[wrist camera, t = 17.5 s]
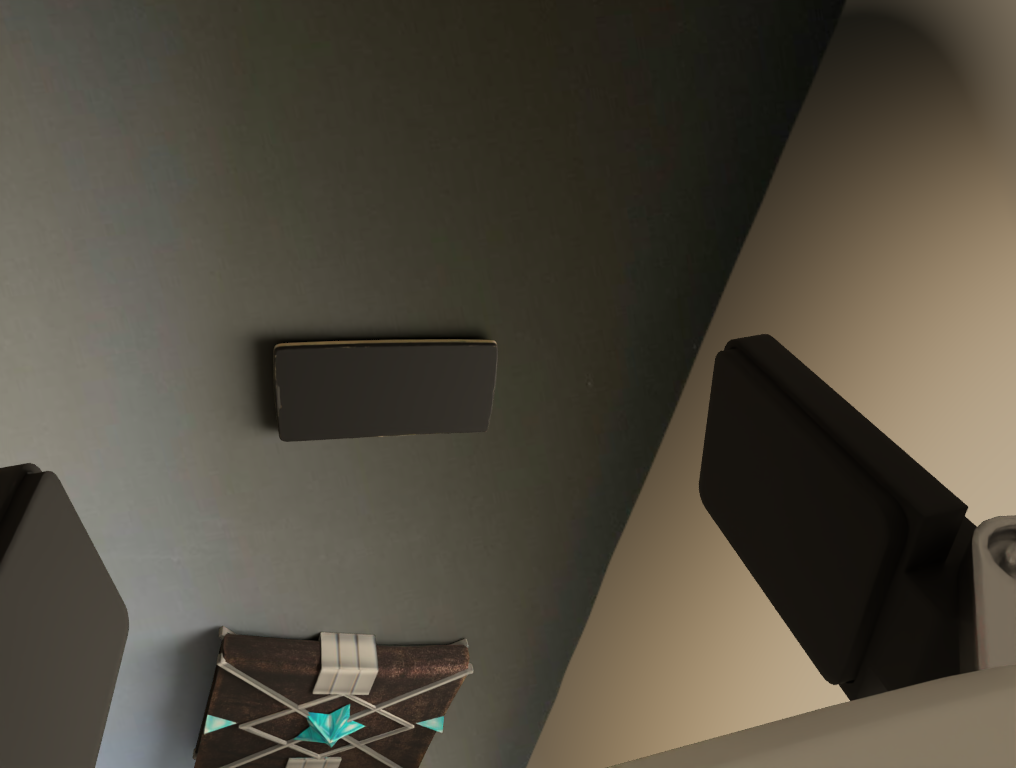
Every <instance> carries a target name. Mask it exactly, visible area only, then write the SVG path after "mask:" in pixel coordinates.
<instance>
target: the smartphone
mask: <svg viewBox="0 0 1016 768" xmlns="http://www.w3.org/2000/svg"><path fill="white" fill-rule="evenodd" d="M497 360H498V346H497V344H496V342H495V341H494V340H461V339H425V340H360V341H324V342H299V343H281V344H277V345H276V346H275V348H274V398H275V407H276V416H277V424H278V431H279V437H280V439H281V440H282V441H286V442H290V441H309V440H325V439H342V438H360V437H379V436H398V435H419V434H440V433H470V432H486V431H487V430H488V426H489V422H490V417H491V412H492V406H493V399H494V392H495V384H496V374H497Z"/></svg>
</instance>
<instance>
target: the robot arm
mask: <svg viewBox="0 0 1016 768" xmlns="http://www.w3.org/2000/svg"><path fill="white" fill-rule="evenodd" d="M699 493H700V497H701V500H702V503H703V504H704V506H705V508H706V510H707V511H708V513H709V514H710V515H711V517H712V518H713V520H714V521H715V523H716V524H717V525H718V527H719V528H720V530H721V531H722V533H723V534H724V536H725V537H726V538H727V540H728V541H729V543H730V544H731V546H732V547H733V548H734V550H735V551H736V553H737V554H738V556H739V557H740V559H741V560H742V561H743V563H744V564H745V566H746V567H747V569H748V570H749V571H750V573H751V574H752V576H753V577H754V579H755V580H756V582H757V583H758V584H759V586H760V587H761V589H762V590H763V592H764V593H765V594H766V596H767V597H768V599H769V600H770V602H771V603H772V605H773V606H774V607H775V609H776V610H777V612H778V613H779V615H780V616H781V618H782V619H783V620H784V622H785V623H786V625H787V626H788V627H789V629H790V630H791V632H792V633H793V635H794V636H795V638H796V639H797V640H798V642H799V643H800V645H801V646H802V648H803V649H804V650H805V652H806V653H807V655H808V656H809V658H810V659H811V661H812V662H813V664H814V665H815V666H816V668H817V669H818V670H819V672H820V674H821V675H822V676H823V677H824V679H825V680H826V681H828V682H829V683H830V684H833V685H837V684H839V686H840V687H841V688H842V690H843V691H844V693H845V694H846V695H847V697H848V698H849V700H850V701H849V702H845V703H841V704H838V705H833V706H829V707H826V708H822V709H818V710H815V711H811V712H807V713H804V714H801V715H797V716H794V717H789V718H786V719H782V720H779V721H775V722H771V723H767V724H764V725H760V726H756V727H753V728H749V729H745V730H742V731H738V732H735V733H731V734H727V735H723V736H720V737H716V738H713V739H709V740H705V741H702V742H698V743H694V744H691V745H687V746H683V747H680V748H676V749H672V750H669V751H665V752H661V753H658V754H654V755H651V756H647V757H643V758H639V759H636V760H632V761H629V762H625V763H622V764H618V765H614V766H611V767H607V768H1016V516H998V517H994V518H992V519H988V520H986V521H983V522H982V523H981V524H980V525H979V526H978V527H976V526H975V525H974V524H973V523H972V522H971V521H969V520H968V519H967V518H966V517H965V513H966V511H967V509H968V506H967V505H966V504H964V503H963V502H962V501H961V500H960V499H959V498H958V497H956V496H955V495H954V494H953V493H952V492H951V491H949V490H948V489H947V488H946V487H945V486H944V485H942V484H941V483H940V482H939V481H938V480H937V479H936V478H935V477H933V476H932V475H931V474H930V473H929V472H927V471H926V470H925V469H924V468H923V467H922V466H921V465H919V464H918V463H917V462H916V461H915V460H914V459H913V458H911V457H910V456H909V455H908V454H907V453H906V452H905V451H903V450H902V449H901V448H900V447H899V446H898V445H896V444H895V443H894V442H893V441H892V440H891V439H890V438H888V437H887V436H886V435H885V434H884V433H883V432H881V431H880V430H879V429H878V428H877V427H876V426H875V425H873V424H872V423H871V422H870V421H869V420H868V419H867V418H865V417H864V416H863V415H862V414H861V413H860V412H858V411H857V410H856V409H855V408H854V407H853V406H851V405H850V404H849V403H848V402H847V401H846V400H845V399H843V398H842V397H841V396H840V395H839V394H837V392H835V391H834V390H833V389H832V388H831V387H829V385H827V384H826V383H825V382H824V381H823V380H821V379H820V378H819V377H818V376H817V375H816V374H815V373H814V372H812V371H811V370H810V369H809V368H808V367H807V366H805V365H804V364H803V363H802V362H801V361H800V360H798V359H797V358H796V357H795V356H794V355H793V354H792V353H790V352H789V351H788V350H787V349H786V348H785V347H784V346H782V345H781V344H780V343H779V342H778V341H777V340H775V339H774V338H773V337H772V336H770V335H768V334H761V335H756V336H750V337H744V338H738V339H733V340H730V341H729V342H728V343H727V345H726V346H725V349H724V351H720V352H719V353H718V354H717V356H716V358H715V364H714V372H713V380H712V387H711V394H710V402H709V410H708V418H707V425H706V433H705V440H704V448H703V456H702V464H701V471H700V480H699ZM128 630H129V618H128V612H127V609H126V606H125V604H124V602H123V600H122V598H121V596H120V594H119V592H118V590H117V589H116V587H115V585H114V583H113V581H112V579H111V577H110V575H109V573H108V571H107V570H106V568H105V566H104V564H103V562H102V560H101V558H100V556H99V554H98V552H97V550H96V549H95V547H94V545H93V543H92V541H91V539H90V537H89V535H88V533H87V531H86V530H85V528H84V526H83V524H82V522H81V520H80V518H79V516H78V514H77V512H76V511H75V509H74V507H73V505H72V503H71V501H70V499H69V497H68V495H67V493H66V492H65V490H64V488H63V486H62V484H61V482H60V480H59V479H58V477H57V476H56V474H54V473H53V472H51V471H45V472H42V471H41V470H40V468H38V467H37V466H36V465H35V464H31V463H27V464H21V465H15V466H9V467H4V468H0V768H95V765H96V761H97V757H98V753H99V749H100V745H101V741H102V737H103V733H104V729H105V725H106V721H107V717H108V713H109V709H110V705H111V701H112V697H113V693H114V688H115V684H116V680H117V676H118V672H119V668H120V664H121V660H122V656H123V652H124V648H125V644H126V640H127V636H128Z"/></svg>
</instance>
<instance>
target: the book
mask: <svg viewBox="0 0 1016 768" xmlns="http://www.w3.org/2000/svg"><path fill="white" fill-rule="evenodd" d="M219 638H221V639H222V642H221V647H220V651H219V655H218V657H217V665H216V669H215V674H214V678H213V682H212V686H211V690H210V694H209V697H208V701H207V705H206V709H205V713H204V717H203V721H202V725H201V729H200V733H199V737H198V741H197V745H196V748H195V749H194V752H193V759H194V760H196V762H195V766H194V768H419V765H420V763H421V761H422V759H423V757H424V755H425V753H426V751H427V749H428V747H429V745H430V743H431V741H432V739H433V737H434V735H435V733H436V731H438V732H441V733H442V731H443V720H444V715H445V713H446V711H447V709H448V708H449V706H450V704H451V702H452V700H453V698H454V697H455V695H456V693H457V691H458V690H459V688H460V686H461V685H462V683H463V681H464V679H465V678H466V676H467V675H469V674H471V673H474V671H473V667H472V664H471V663H469V659H470V657H469V653H468V642H467V639H466V638H465V639H463V640H460V641H458V642H455V643H453V644H450V645H421V646H391V645H376V641H375V635H365V634H346V633H326V632H321V634H320V637H319V640H318V641H309V640H293V639H282V638H270V637H259V636H247V635H237V634H235V633H233V632H232V631H230V630H229V629H227V628H225V627H224V626H222V627H221V628H219ZM468 663H469V664H468ZM468 666H469V669H468Z"/></svg>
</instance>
